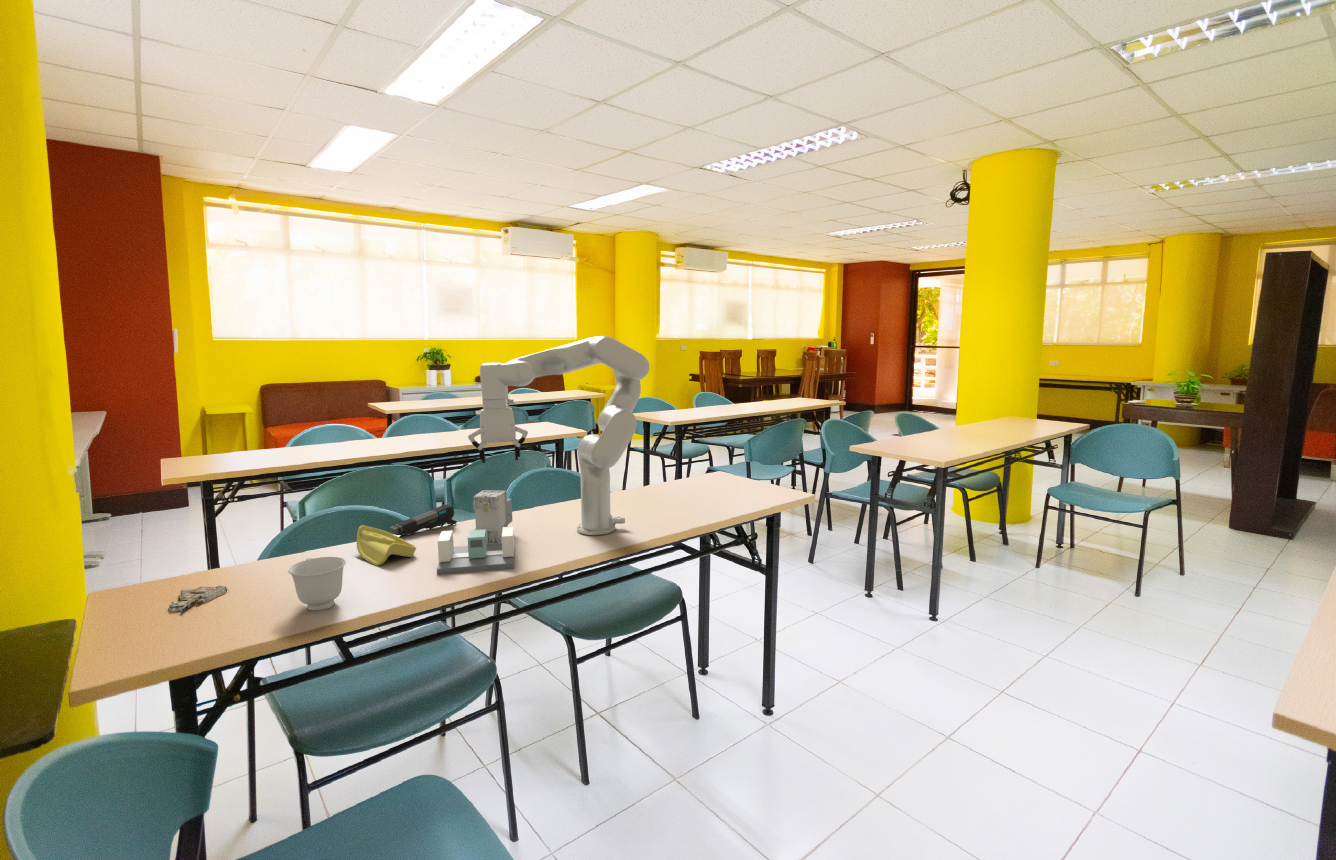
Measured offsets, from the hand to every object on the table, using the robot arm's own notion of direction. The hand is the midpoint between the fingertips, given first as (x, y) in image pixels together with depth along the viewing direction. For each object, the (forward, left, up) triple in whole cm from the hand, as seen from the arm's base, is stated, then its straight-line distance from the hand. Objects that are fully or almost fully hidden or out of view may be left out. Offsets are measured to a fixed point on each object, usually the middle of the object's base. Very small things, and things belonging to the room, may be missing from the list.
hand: (500, 460), depth 191 cm
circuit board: (+71, +27, -27) cm, 80 cm away
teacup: (+42, +35, -26) cm, 61 cm away
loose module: (+7, +13, -24) cm, 28 cm away
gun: (+26, -20, -26) cm, 42 cm away
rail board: (+7, +13, -26) cm, 30 cm away
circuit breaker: (+3, -8, -26) cm, 27 cm away
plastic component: (+34, +2, -26) cm, 43 cm away
